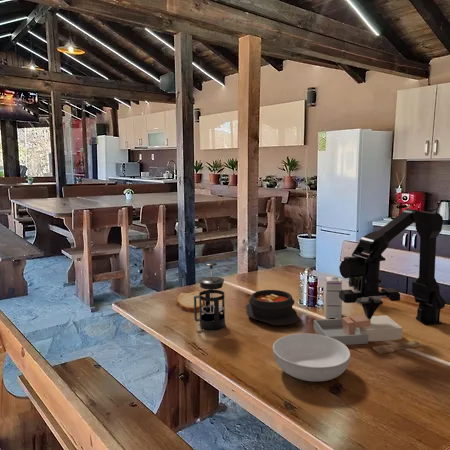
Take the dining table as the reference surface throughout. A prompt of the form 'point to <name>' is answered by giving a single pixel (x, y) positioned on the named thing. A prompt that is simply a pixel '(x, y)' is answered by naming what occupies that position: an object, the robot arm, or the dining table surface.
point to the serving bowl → (311, 356)
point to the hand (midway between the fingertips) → (368, 319)
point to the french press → (209, 310)
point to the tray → (338, 332)
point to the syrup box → (333, 297)
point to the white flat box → (381, 329)
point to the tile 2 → (360, 321)
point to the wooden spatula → (394, 347)
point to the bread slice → (189, 301)
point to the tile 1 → (348, 326)
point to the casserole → (272, 307)
